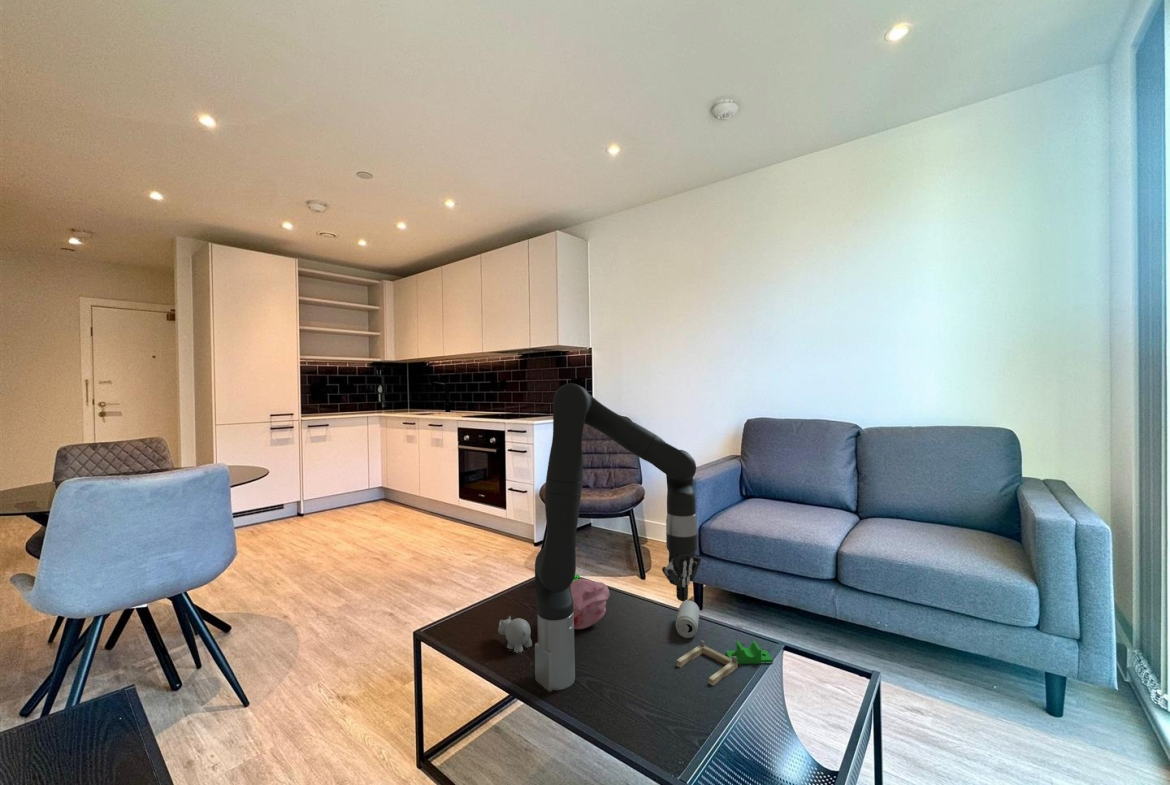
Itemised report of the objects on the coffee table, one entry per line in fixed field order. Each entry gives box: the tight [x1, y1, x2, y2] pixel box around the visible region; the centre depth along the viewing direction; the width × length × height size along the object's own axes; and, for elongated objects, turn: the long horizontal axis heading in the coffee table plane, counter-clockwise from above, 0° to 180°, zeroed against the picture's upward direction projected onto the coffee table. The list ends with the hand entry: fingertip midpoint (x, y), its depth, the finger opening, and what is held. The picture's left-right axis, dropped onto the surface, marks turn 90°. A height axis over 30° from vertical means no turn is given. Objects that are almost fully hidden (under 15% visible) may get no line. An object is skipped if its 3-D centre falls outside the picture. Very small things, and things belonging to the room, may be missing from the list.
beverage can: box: [675, 600, 701, 639], centre depth 139 cm, size 6×6×12 cm
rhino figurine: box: [497, 615, 533, 653], centre depth 131 cm, size 7×12×8 cm, turn 48°
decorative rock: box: [570, 578, 610, 630], centre depth 142 cm, size 19×14×15 cm
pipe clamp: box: [725, 640, 774, 664], centre depth 122 cm, size 11×4×5 cm
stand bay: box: [676, 639, 739, 686], centre depth 119 cm, size 11×11×3 cm
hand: (682, 599), depth 113 cm, fingers closed
